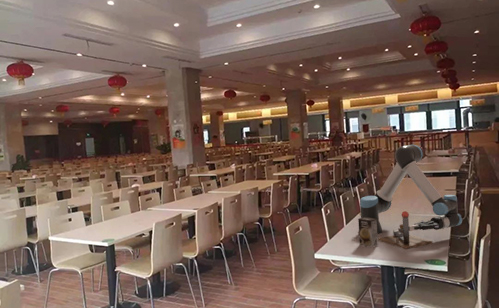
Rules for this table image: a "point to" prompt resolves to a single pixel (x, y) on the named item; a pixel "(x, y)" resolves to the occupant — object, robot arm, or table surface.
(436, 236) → the table surface
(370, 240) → the coffee box
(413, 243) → the cracker base
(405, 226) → the lever
